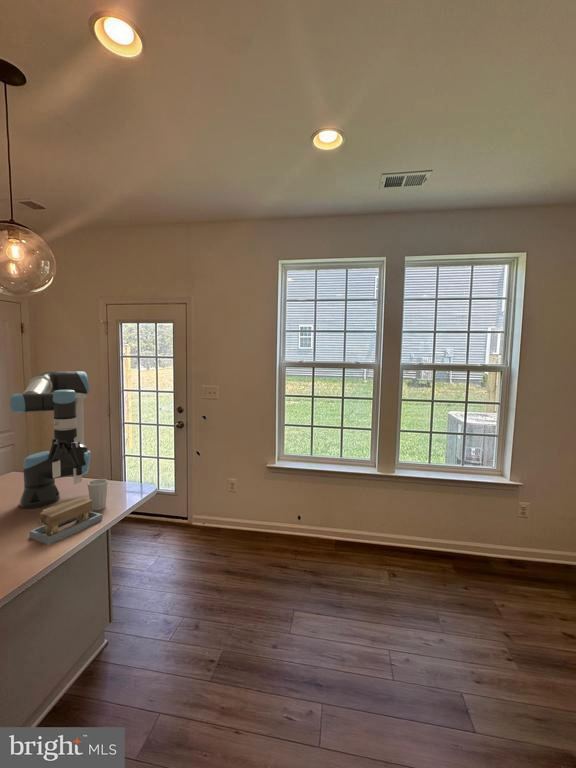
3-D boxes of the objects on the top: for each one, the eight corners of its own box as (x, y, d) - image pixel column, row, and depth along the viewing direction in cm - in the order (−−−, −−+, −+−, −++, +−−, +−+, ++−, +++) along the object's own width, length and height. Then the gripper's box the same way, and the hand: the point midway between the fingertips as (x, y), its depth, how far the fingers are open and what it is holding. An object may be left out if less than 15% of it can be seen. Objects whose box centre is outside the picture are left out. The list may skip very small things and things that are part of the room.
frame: (29, 537, 123) (29, 524, 123) (83, 514, 143) (83, 503, 142) (48, 544, 118) (48, 531, 118) (102, 520, 138) (101, 508, 137)
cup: (93, 503, 153) (93, 478, 153) (111, 503, 154) (110, 478, 153) (84, 511, 145) (83, 485, 145) (103, 510, 146) (102, 484, 145)
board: (40, 523, 124) (39, 513, 124) (81, 506, 139) (81, 497, 139) (51, 527, 121) (50, 516, 121) (92, 509, 136) (91, 500, 136)
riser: (42, 519, 137) (42, 510, 137) (71, 508, 148) (71, 499, 148) (48, 521, 136) (48, 512, 136) (76, 509, 147) (76, 501, 146)
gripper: (36, 426, 131) (38, 477, 133) (76, 433, 121) (77, 488, 123) (56, 423, 138) (57, 471, 140) (95, 430, 128) (96, 482, 130)
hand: (67, 479), depth 131 cm, fingers open, 13 cm apart
